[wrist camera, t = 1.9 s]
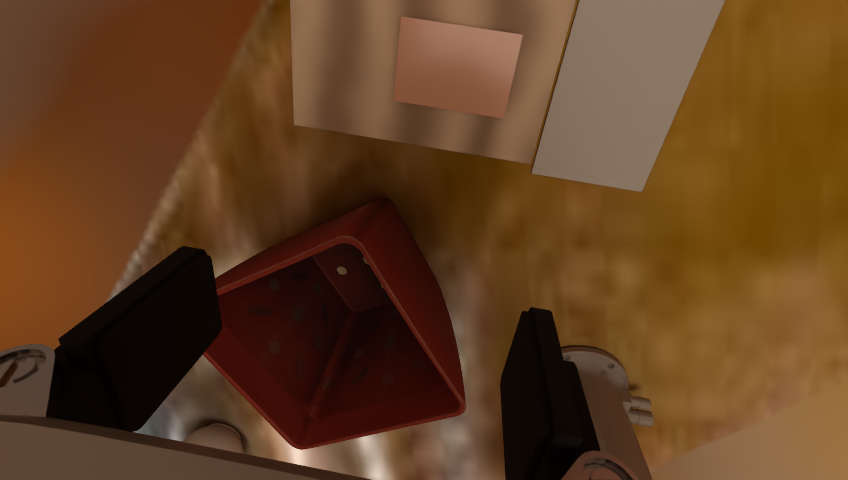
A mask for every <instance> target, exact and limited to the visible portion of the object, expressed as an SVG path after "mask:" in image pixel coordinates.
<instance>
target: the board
mask: <svg viewBox="0 0 848 480" xmlns="http://www.w3.org/2000/svg"><path fill="white" fill-rule="evenodd" d="M575 2H576V0H290V8H291V41H292V74H293V107H294V125H299V126H305V127H311V128H317V129H323V130H329V131H335V132H341V133H347V134H353V135H359V136H365V137H371V138H377V139H383V140H389V141H395V142H401V143H407V144H413V145H419V146H425V147H431V148H437V149H443V150H449V151H455V152H461V153H467V154H473V155H479V156H485V157H491V158H497V159H503V160H509V161H515V162H521V163H527V164H531V162H532V158H533V155H534V151H535V147H536V144H537V140H538V136H539V133H540V129H541V126H542V122H543V118H544V115H545V111H546V107H547V104H548V100H549V96H550V93H551V89H552V85H553V82H554V78H555V75H556V71H557V67H558V64H559V60H560V56H561V53H562V49H563V45H564V42H565V38H566V35H567V31H568V27H569V24H570V20H571V16H572V13H573V9H574V5H575ZM401 16H403V17H411V18H417V19H424V20H430V21H437V22H444V23H450V24H457V25H463V26H470V27H477V28H483V29H490V30H496V31H503V32H510V33H516V34H522V35H523V37H522V41H521V46H520V50H519V54H518V59H517V63H516V68H515V72H514V77H513V81H512V85H511V90H510V94H509V99H508V103H507V107H506V112H505V116H504V119H503V118H497V117H491V116H485V115H479V114H472V113H466V112H460V111H454V110H448V109H441V108H435V107H429V106H423V105H417V104H410V103H404V102H398V101H394V91H395V79H396V68H397V57H398V46H399V35H400V24H401Z"/></svg>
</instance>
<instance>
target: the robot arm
mask: <svg viewBox="0 0 848 480" xmlns="http://www.w3.org/2000/svg"><path fill="white" fill-rule="evenodd" d="M221 329H222V319H221V313H220V307H219V301H218V295H217V289H216V283H215V277H214V271H213V265H212V260H211V257H210V256H209V255H207V253H206V252H205V250H203V249H198V248H192V247H186V246H182V247H180V248H179V249H177V250H176V251H175V252H173V253H172V254H171V255H169V256H168V257H167V258H165V259H164V260H163V261H161V262H160V263H159V264H157V265H156V266H155V267H153V268H152V269H151V270H149V271H148V272H147V273H145V274H144V275H143V276H141V277H140V278H139V279H137V280H136V281H135V282H133V283H132V284H131V285H129V286H128V287H127V288H125V289H124V290H123V291H121V292H120V293H119V294H117V295H116V296H115V297H113V298H112V299H111V300H109V301H108V302H107V303H105V304H104V305H103V306H101V307H100V308H99V309H98V310H96V311H95V312H93V313H92V314H91V315H89V316H88V317H87V318H86V319H84V320H83V321H81V322H80V323H79V324H77V325H76V326H75V327H74V328H72V329H71V330H69V331H68V332H67V333H66V334H64V335H63V336H61V337H60V338H59V339H58V340H59V342H60V344H61V345H60V346H59V347H57V348H56V349H55V350H53V349H52V348H50V347H49V346H46V345H42V344H29V345H22V346H17V347H14V348H11V349H8V350H4V351H2V352H0V480H370V479H366V478H361V477H356V476H351V475H346V474H341V473H336V472H332V471H327V470H322V469H317V468H312V467H307V466H302V465H297V464H292V463H287V462H282V461H277V460H272V459H267V458H262V457H257V456H252V455H247V454H242V453H237V452H232V451H227V450H222V449H217V448H212V447H207V446H202V445H196V444H191V443H186V442H181V441H176V440H171V439H165V438H160V437H155V436H150V435H145V434H140V433H134V432H133V431H137V430H139V429H140V428H141V427H142V426H143V425H144V424H145V423H146V422H147V420H148V419H149V418H150V417H151V416H152V414H153V413H154V412H155V411H156V410H157V408H158V407H159V406H160V405H161V404H162V402H163V401H164V400H165V399H166V398H167V396H168V395H169V394H170V393H171V392H172V390H173V389H174V388H175V387H176V386H177V384H178V383H179V382H180V381H181V380H182V378H183V377H184V376H185V375H186V374H187V372H188V371H189V370H190V369H191V368H192V366H193V365H194V364H195V363H196V362H197V360H198V359H199V358H200V357H201V356H202V354H203V353H204V352H205V351H206V350H207V349H208V347H209V346H210V345H211V344H212V343H213V341H214V340H215V339H216V338H217V337H218V335H219V334H220V332H221ZM628 384H629V381H628V377H627V374H626V372H625V370H624V367H623V366H622V365H621V363H620V362H619V361H618V360H617V359H616V358H614V357H613V356H612V355H610V354H608V353H606V352H604V351H601V350H598V349H595V348H589V347H567V348H562V349H561V347H560V343H559V339H558V335H557V331H556V327H555V323H554V319H553V315H552V312H551V311H550V310H545V309H539V308H533V307H531V308H530V309H529V311H528V312H527V311H523V312H522V313H521V316H520V319H519V323H518V326H517V329H516V332H515V335H514V338H513V341H512V345H511V348H510V351H509V354H508V357H507V360H506V363H505V367H504V370H503V373H502V376H501V384H500V390H501V407H502V424H503V442H504V459H505V476H506V480H653V479H652V477H651V474H650V471H649V469H648V466H647V463H646V461H645V458H644V456H643V453H642V450H641V448H640V445H639V442H638V440H637V437H636V434H635V432H634V429H633V426H632V424H631V423H634V424H635V425H640V426H646V427H651V426H652V425H653V415H652V413H651V412H650V411H646V410H649V409H650V407H651V402H650V400H649V399H647V398H642V397H634V396H631V394H630V393H628ZM631 406H632V407H637V408H640V409H631ZM641 409H645V410H641Z"/></svg>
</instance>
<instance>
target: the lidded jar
mask: <svg viewBox="0 0 848 480" xmlns="http://www.w3.org/2000/svg"><path fill="white" fill-rule="evenodd" d="M183 442H186V443H191V444H196V445H202V446H207V447H212V448H217V449H222V450H227V451H232V452H237V453H242V454H243V446H242V443H241V436H240V434H239V433H238V432H237V431H236V430H235V429H234V428H232V427H230V426H228V425H226V424H222V423H213V424H211V425H209V426H206V427H203V428H200V429H198V430H196V431H194V432H193V433H191V434H190V435H189V436H188V437H187V438H186V439H185V440H184V441H183Z"/></svg>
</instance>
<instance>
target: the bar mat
mask: <svg viewBox="0 0 848 480" xmlns="http://www.w3.org/2000/svg"><path fill="white" fill-rule="evenodd" d="M724 1H725V0H579V2H578V6H577V9H576V13H575V16H574V20H573V24H572V27H571V31H570V34H569V38H568V42H567V45H566V49H565V52H564V56H563V60H562V63H561V67H560V70H559V74H558V78H557V81H556V85H555V88H554V92H553V96H552V99H551V103H550V106H549V110H548V114H547V117H546V121H545V124H544V128H543V132H542V135H541V139H540V142H539V146H538V150H537V153H536V157H535V160H534V164H533V168H532V171H531V173H532V174H538V175H544V176H550V177H556V178H562V179H568V180H574V181H580V182H586V183H592V184H598V185H603V186H609V187H615V188H621V189H627V190H633V191H639V192H642V190H643V188H644V186H645V183H646V181H647V179H648V176H649V174H650V172H651V169H652V167H653V165H654V163H655V160H656V158H657V156H658V153H659V151H660V149H661V146H662V144H663V142H664V140H665V137H666V135H667V133H668V130H669V128H670V126H671V123H672V121H673V119H674V116H675V114H676V112H677V110H678V107H679V105H680V103H681V100H682V98H683V96H684V93H685V91H686V89H687V86H688V84H689V82H690V80H691V77H692V75H693V73H694V70H695V68H696V66H697V63H698V61H699V59H700V57H701V54H702V52H703V50H704V47H705V45H706V43H707V40H708V38H709V36H710V33H711V31H712V29H713V27H714V24H715V22H716V20H717V17H718V15H719V13H720V10H721V8H722V6H723V3H724Z"/></svg>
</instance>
